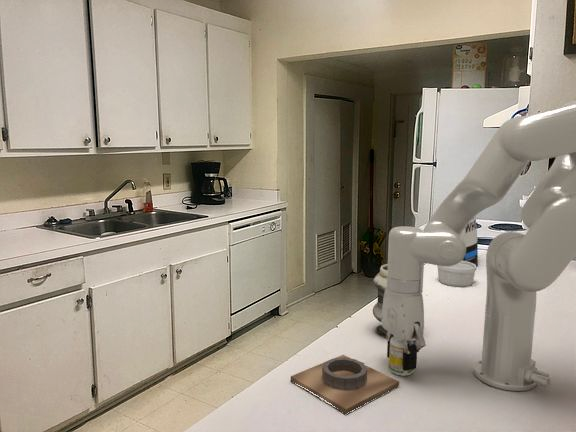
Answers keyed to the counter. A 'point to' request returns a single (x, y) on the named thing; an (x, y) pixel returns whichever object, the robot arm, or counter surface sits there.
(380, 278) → the apothecary jar
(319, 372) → the stand board
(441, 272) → the ramekin
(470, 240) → the protein powder
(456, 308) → the counter surface
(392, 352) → the supplement bottle
